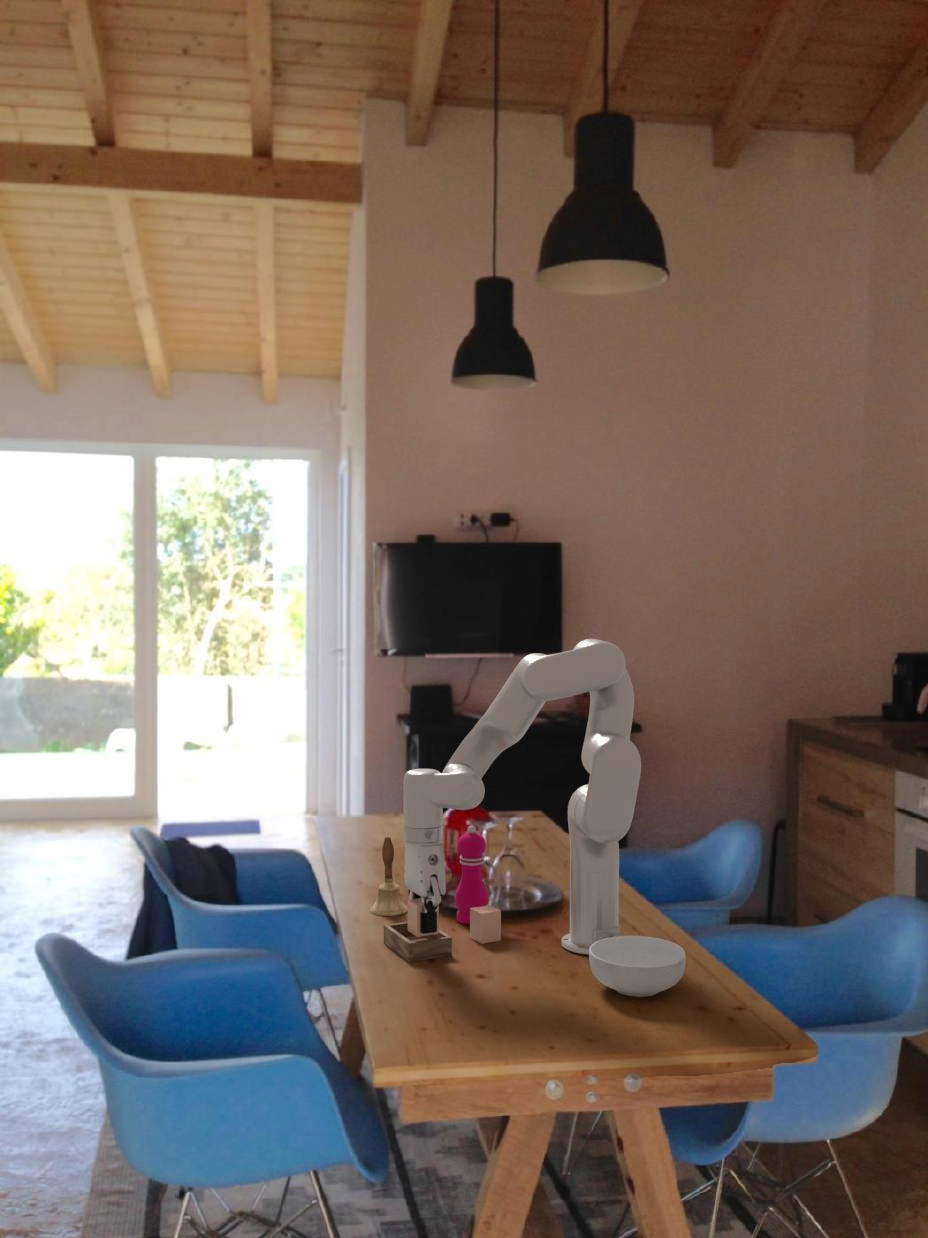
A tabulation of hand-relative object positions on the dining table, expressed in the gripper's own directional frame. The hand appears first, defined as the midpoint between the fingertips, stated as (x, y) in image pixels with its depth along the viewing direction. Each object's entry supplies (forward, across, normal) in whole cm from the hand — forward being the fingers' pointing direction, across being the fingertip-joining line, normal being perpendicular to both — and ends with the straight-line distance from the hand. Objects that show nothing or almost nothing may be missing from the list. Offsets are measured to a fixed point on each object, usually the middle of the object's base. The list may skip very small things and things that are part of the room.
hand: (423, 928), depth 230 cm
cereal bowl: (+5, -34, -26) cm, 43 cm away
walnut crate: (+5, +3, 0) cm, 6 cm away
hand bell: (+5, +30, -5) cm, 31 cm away
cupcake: (+5, +38, -19) cm, 43 cm away
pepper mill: (+5, +16, -18) cm, 24 cm away
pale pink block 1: (+1, 0, 0) cm, 1 cm away
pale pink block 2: (+5, +3, -15) cm, 16 cm away
